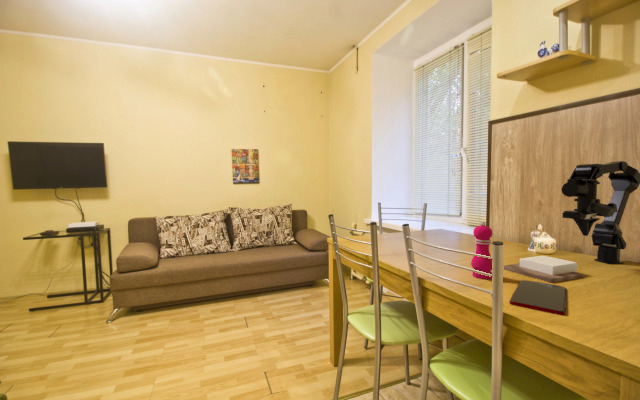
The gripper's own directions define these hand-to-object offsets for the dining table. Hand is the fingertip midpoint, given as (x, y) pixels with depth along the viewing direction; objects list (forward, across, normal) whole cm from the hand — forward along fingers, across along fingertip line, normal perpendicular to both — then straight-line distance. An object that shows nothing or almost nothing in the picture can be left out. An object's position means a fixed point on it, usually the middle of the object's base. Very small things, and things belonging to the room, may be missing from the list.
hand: (585, 235), depth 118 cm
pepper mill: (+12, -48, +4) cm, 50 cm away
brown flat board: (+12, -25, 0) cm, 28 cm away
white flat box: (+9, -15, 0) cm, 17 cm away
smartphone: (+13, -48, -16) cm, 52 cm away
